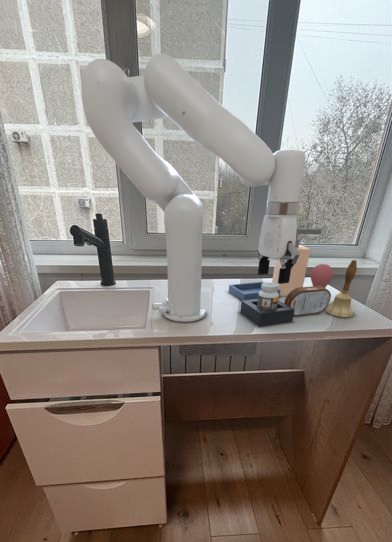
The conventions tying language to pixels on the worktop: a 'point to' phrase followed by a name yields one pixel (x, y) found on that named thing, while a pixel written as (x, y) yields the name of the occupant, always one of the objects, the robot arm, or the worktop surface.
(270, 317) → the socket base
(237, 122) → the robot arm
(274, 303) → the pill bottle
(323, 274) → the light bulb
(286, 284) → the soap dispenser
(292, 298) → the tin
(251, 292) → the tray
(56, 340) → the worktop surface
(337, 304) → the hand bell
